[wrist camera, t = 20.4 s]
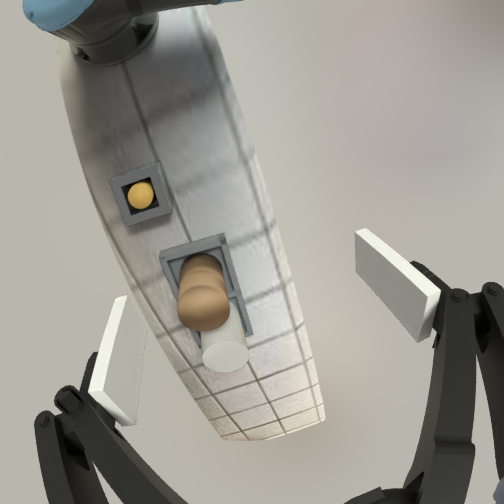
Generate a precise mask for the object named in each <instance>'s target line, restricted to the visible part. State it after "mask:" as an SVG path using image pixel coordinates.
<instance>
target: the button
mask: <svg viewBox="0 0 504 504" xmlns="http://www.w3.org/2000/svg"><path fill="white" fill-rule="evenodd" d="M154 196H155V190H154V187H153V184H152V183H151V182H149V181H147V180H140V181H138V182H136V183H135V184H134V185H133V186H132V188H131V189H130V190H129V193H128V200H129V202H130V204H131V205H132V206H133V207H135V208H138V209H143V208H146V207H147V206H149V205H150V203H151V202H152V200H153V198H154Z"/></svg>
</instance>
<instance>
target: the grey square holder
mask: <svg viewBox="0 0 504 504" xmlns="http://www.w3.org/2000/svg"><path fill="white" fill-rule="evenodd" d="M147 177H150V178H151V181H152V184H153V187H154V190H155V193H156V197H157V200H158V201H156V202H153V203H150V205H149V206H147V207H146V208H143V209H138V208H135V207H133V206H132V205H131V204H130V202H129V200H128V193H129V187H128V184H130V183H133V182H136V181H139V180H141V179H144V178H147ZM110 184H111V187H112V190H113V193H114V196H115V198H116V201H117V204H118V207H119V209H120V212H121V215H122V217H123V220H124V223H125V225H126V227H127V226H130V225H133V224H136V223H139V222H142V221H145V220H149V219H152V218H155V217H158V216H161V215H165V214H168V213H171V212H172V209H173V202H172V199H171V196H170V192H169V189H168V186H167V183H166V180H165V176H164V173H163V170H162V166H161V163H160V161H157V162H154V163H151V164H148V165H145V166H142V167H139V168H136V169H134V170H131V171H128V172H125V173H122V174H120V175H117V176H115V177H114V178H113V179H111V180H110Z"/></svg>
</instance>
